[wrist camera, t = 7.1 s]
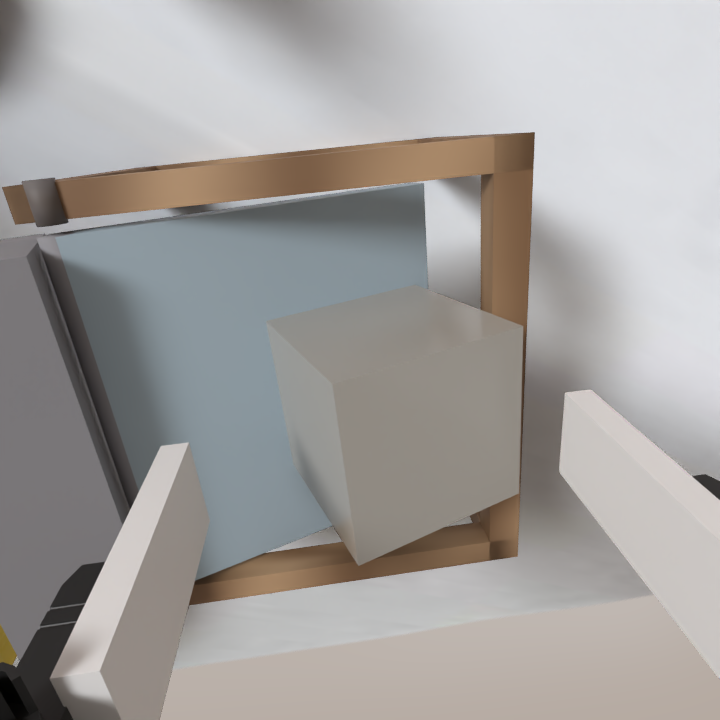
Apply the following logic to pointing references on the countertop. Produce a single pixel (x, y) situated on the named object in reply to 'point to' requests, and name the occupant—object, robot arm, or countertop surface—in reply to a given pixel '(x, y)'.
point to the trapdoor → (169, 373)
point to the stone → (400, 412)
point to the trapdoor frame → (318, 174)
